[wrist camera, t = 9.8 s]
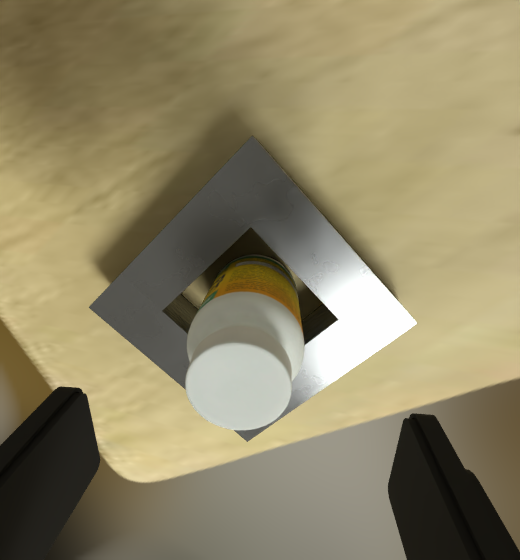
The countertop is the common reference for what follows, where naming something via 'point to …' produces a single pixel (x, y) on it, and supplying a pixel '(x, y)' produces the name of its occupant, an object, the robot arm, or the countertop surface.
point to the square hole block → (286, 244)
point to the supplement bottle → (245, 345)
